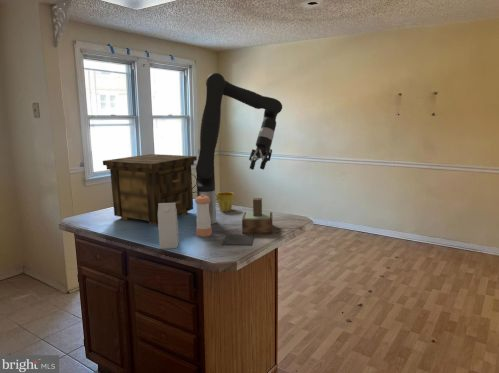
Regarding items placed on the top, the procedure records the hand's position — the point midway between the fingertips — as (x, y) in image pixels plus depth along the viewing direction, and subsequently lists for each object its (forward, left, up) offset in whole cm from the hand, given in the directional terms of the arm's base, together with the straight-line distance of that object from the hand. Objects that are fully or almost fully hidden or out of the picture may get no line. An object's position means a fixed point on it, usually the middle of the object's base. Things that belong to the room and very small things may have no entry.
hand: (256, 169), depth 181 cm
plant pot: (-20, +30, -29) cm, 46 cm away
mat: (-7, -23, -29) cm, 38 cm away
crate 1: (-58, +16, -29) cm, 67 cm away
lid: (+1, -7, -23) cm, 24 cm away
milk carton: (-36, -31, -29) cm, 56 cm away
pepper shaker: (-24, -15, -29) cm, 41 cm away
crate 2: (+1, -7, -29) cm, 29 cm away
